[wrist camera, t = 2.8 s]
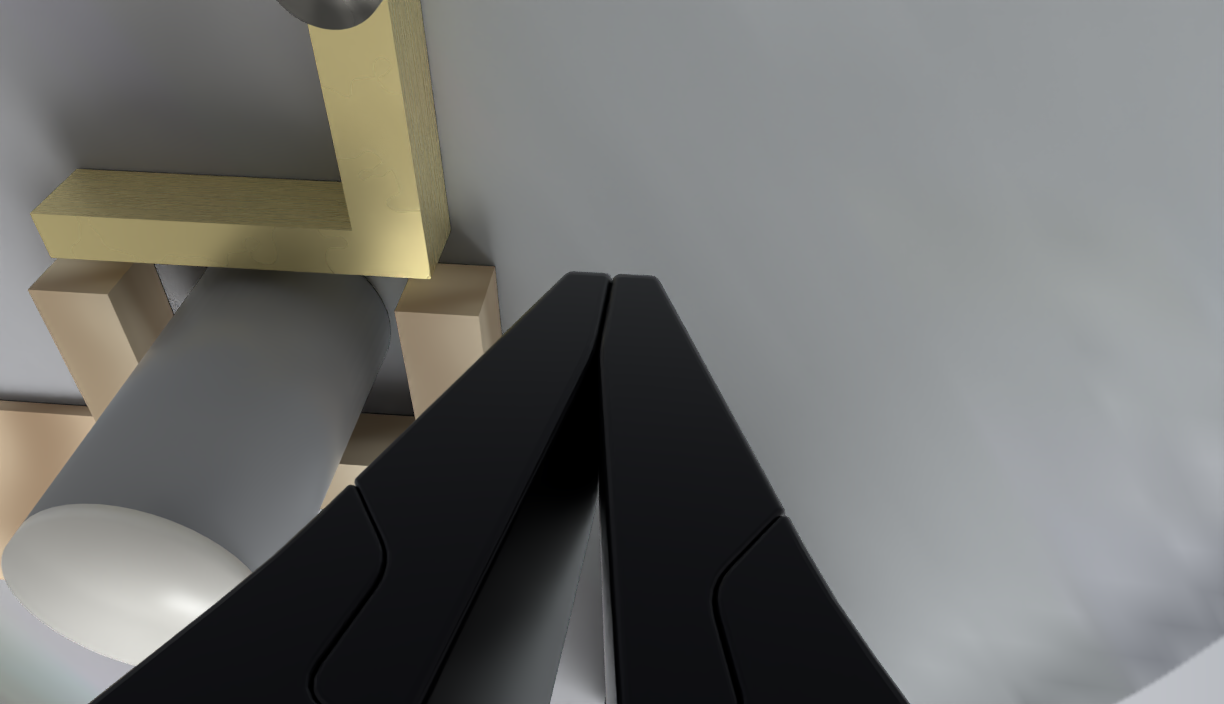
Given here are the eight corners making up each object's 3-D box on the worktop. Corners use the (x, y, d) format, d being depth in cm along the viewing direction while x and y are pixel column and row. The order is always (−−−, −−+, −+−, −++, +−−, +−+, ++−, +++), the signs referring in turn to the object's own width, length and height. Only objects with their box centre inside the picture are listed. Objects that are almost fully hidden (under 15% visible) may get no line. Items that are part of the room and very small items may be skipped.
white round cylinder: (374, 242, 23) (226, 532, 16) (403, 390, 26) (290, 683, 19) (179, 232, 23) (-47, 511, 16) (232, 378, 26) (61, 663, 20)
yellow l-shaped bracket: (413, -169, 17) (369, -129, 15) (463, 230, 22) (435, 301, 20) (-71, -180, 17) (-181, -143, 15) (95, 211, 23) (31, 278, 21)
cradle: (494, 266, 23) (478, 316, 21) (515, 469, 28) (503, 522, 26) (71, 243, 24) (27, 289, 22) (164, 445, 29) (132, 494, 27)
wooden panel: (148, 410, 28) (142, 419, 27) (229, 588, 34) (224, 597, 33) (-135, 391, 28) (-145, 400, 28) (-7, 569, 34) (-13, 578, 34)
